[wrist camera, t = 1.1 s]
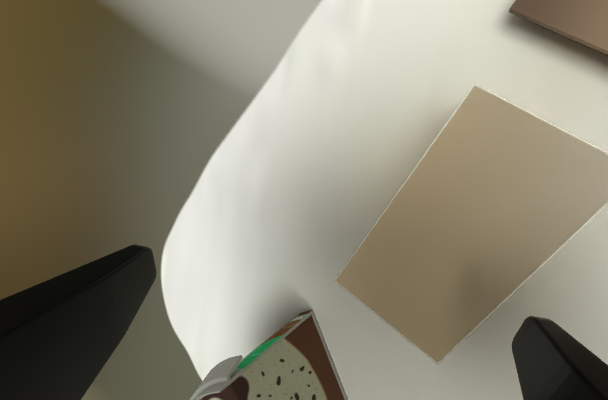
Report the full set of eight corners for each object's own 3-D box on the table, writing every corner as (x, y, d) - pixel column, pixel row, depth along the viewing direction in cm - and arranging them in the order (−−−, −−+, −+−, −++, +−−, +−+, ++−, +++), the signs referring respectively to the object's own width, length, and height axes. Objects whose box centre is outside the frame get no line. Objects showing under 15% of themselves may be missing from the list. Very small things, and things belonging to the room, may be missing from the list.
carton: (562, 155, 16) (643, 170, 9) (447, 281, 19) (437, 364, 12) (469, 104, 17) (474, 83, 10) (377, 231, 21) (334, 280, 14)
